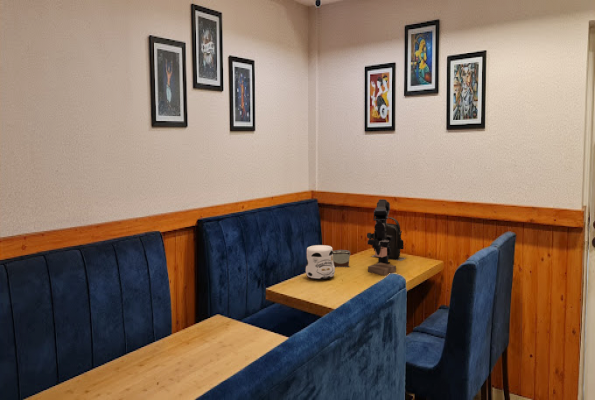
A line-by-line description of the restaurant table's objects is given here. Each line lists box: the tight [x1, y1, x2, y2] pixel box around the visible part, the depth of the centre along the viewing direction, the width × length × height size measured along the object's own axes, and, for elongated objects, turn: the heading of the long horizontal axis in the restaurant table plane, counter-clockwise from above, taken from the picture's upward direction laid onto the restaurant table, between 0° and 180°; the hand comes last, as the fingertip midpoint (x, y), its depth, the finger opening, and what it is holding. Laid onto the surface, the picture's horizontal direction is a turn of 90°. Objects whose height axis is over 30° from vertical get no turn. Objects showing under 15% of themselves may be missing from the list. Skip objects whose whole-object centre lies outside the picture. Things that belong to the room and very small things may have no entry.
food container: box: [333, 249, 352, 268], centre depth 301 cm, size 12×6×10 cm, turn 84°
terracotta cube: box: [374, 247, 387, 258], centre depth 283 cm, size 5×5×5 cm
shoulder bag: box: [371, 216, 407, 262], centre depth 317 cm, size 23×9×28 cm, turn 52°
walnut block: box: [367, 262, 397, 276], centre depth 285 cm, size 12×12×4 cm
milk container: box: [305, 244, 336, 281], centre depth 276 cm, size 17×17×18 cm
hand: (381, 254), depth 283 cm, fingers closed on terracotta cube, 5 cm apart
